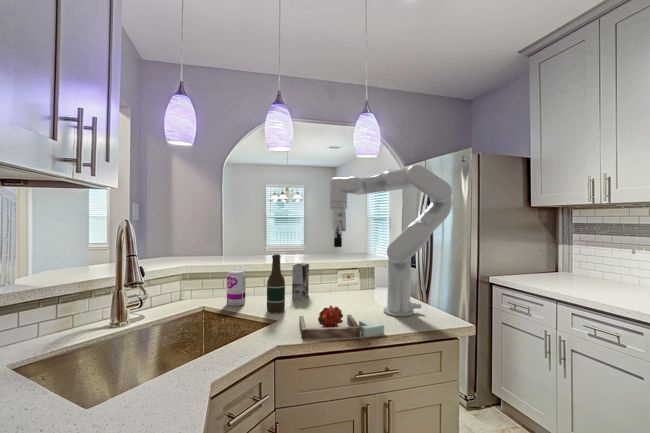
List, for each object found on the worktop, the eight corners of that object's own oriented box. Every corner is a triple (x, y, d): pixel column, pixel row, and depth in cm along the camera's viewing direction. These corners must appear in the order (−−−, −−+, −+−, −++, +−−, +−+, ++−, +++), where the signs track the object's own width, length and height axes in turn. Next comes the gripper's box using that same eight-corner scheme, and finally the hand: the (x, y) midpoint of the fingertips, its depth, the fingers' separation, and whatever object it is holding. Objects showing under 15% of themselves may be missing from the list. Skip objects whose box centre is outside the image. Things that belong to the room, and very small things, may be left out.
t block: (370, 326, 132) (371, 319, 132) (383, 333, 125) (384, 325, 125) (352, 330, 129) (352, 321, 129) (365, 337, 122) (365, 328, 121)
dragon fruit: (342, 327, 136) (322, 340, 127) (327, 311, 139) (307, 323, 130) (351, 313, 132) (332, 325, 123) (336, 297, 135) (316, 308, 126)
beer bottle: (288, 309, 153) (288, 254, 153) (278, 314, 146) (279, 256, 146) (273, 307, 156) (273, 253, 156) (262, 311, 149) (263, 255, 149)
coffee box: (304, 299, 171) (304, 266, 170) (291, 298, 172) (292, 265, 172) (309, 295, 180) (309, 263, 179) (296, 294, 181) (297, 262, 180)
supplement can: (235, 307, 155) (236, 273, 155) (222, 304, 160) (223, 271, 159) (249, 303, 162) (249, 270, 162) (236, 300, 166) (236, 269, 166)
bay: (350, 322, 137) (351, 314, 137) (360, 336, 122) (360, 328, 122) (299, 323, 135) (299, 315, 135) (302, 338, 119) (302, 329, 119)
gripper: (350, 205, 150) (349, 248, 150) (343, 205, 165) (343, 245, 165) (332, 205, 149) (332, 248, 149) (327, 205, 164) (327, 245, 164)
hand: (337, 246), depth 157 cm, fingers closed
